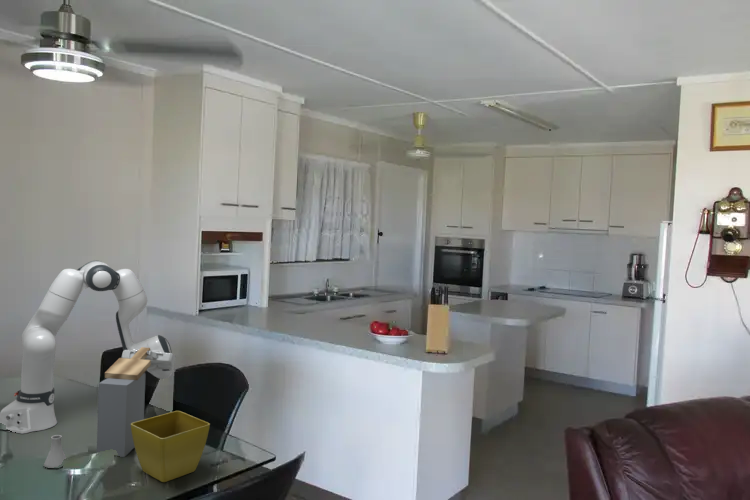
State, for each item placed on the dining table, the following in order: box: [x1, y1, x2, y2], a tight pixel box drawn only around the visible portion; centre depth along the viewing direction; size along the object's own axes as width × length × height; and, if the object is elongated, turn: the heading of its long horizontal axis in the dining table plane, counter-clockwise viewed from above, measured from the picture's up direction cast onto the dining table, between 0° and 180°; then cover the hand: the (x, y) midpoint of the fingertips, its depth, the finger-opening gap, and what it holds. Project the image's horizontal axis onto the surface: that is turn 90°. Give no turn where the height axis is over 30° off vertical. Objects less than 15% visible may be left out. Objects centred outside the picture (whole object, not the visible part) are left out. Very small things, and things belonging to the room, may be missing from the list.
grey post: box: [96, 372, 147, 458], centre depth 220 cm, size 10×16×26 cm, turn 178°
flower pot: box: [131, 410, 211, 483], centre depth 204 cm, size 19×19×17 cm
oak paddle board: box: [104, 347, 151, 380], centre depth 228 cm, size 12×22×2 cm, turn 178°
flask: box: [42, 434, 67, 468], centre depth 203 cm, size 7×7×10 cm
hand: (142, 352), depth 235 cm, fingers closed on oak paddle board, 3 cm apart
